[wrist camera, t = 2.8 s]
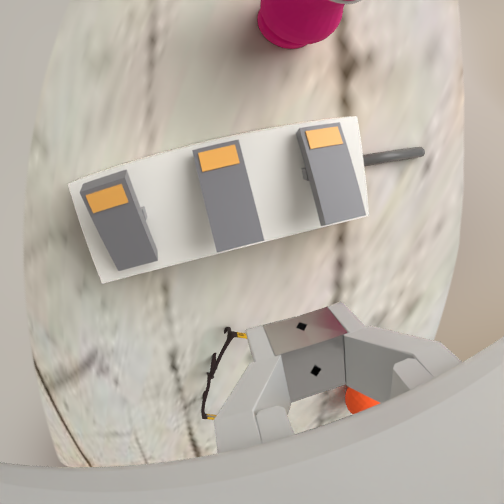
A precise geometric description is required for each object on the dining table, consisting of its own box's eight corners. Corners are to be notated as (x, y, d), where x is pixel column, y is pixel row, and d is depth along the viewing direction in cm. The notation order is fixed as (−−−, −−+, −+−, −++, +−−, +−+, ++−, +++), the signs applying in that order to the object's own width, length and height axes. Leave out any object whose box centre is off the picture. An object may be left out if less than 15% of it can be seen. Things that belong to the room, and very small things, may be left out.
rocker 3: (295, 133, 27) (299, 127, 25) (334, 127, 27) (340, 121, 26) (320, 226, 27) (326, 225, 26) (359, 216, 28) (367, 215, 26)
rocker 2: (193, 154, 26) (192, 149, 25) (237, 144, 26) (238, 138, 25) (217, 252, 27) (216, 252, 25) (262, 240, 27) (264, 240, 25)
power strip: (81, 177, 29) (63, 186, 24) (416, 110, 32) (444, 110, 27) (111, 268, 32) (99, 290, 28) (423, 191, 36) (450, 201, 31)
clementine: (389, 363, 45) (412, 392, 39) (372, 395, 48) (391, 424, 41) (347, 365, 44) (368, 398, 37) (332, 399, 46) (349, 431, 39)
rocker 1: (83, 183, 22) (79, 193, 21) (126, 169, 23) (124, 178, 22) (119, 260, 28) (118, 272, 27) (157, 250, 28) (157, 261, 27)
